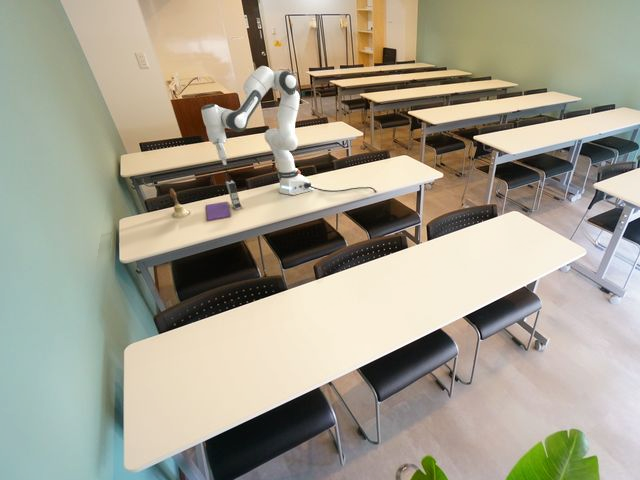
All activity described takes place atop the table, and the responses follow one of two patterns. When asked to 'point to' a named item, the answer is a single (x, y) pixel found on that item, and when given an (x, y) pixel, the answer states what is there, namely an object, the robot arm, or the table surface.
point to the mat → (217, 211)
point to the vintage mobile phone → (233, 193)
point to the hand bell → (177, 206)
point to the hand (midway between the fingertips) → (224, 162)
